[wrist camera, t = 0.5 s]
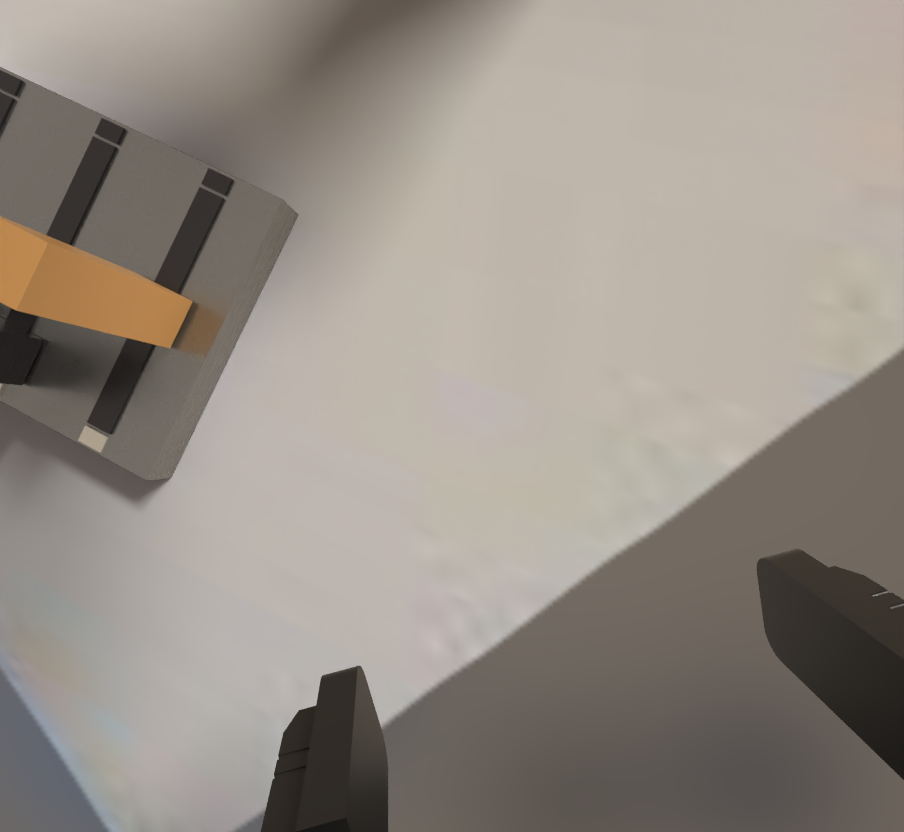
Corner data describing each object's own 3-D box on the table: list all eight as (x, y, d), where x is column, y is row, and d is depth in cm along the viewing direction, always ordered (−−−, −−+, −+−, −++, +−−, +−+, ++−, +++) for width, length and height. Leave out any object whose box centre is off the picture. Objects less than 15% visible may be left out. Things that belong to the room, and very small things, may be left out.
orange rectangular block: (170, 348, 36) (16, 310, 25) (112, 318, 37) (-64, 268, 26) (192, 301, 36) (48, 243, 25) (134, 272, 37) (-32, 202, 26)
